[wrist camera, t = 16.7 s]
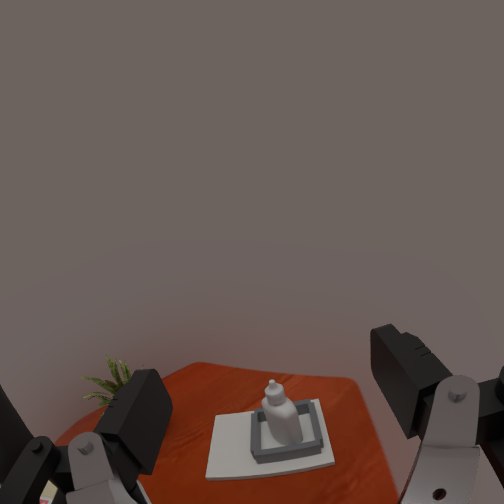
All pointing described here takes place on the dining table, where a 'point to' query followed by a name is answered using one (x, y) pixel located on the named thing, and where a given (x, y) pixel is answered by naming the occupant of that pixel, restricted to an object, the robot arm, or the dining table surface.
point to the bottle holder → (267, 445)
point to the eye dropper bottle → (281, 415)
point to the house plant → (112, 386)
